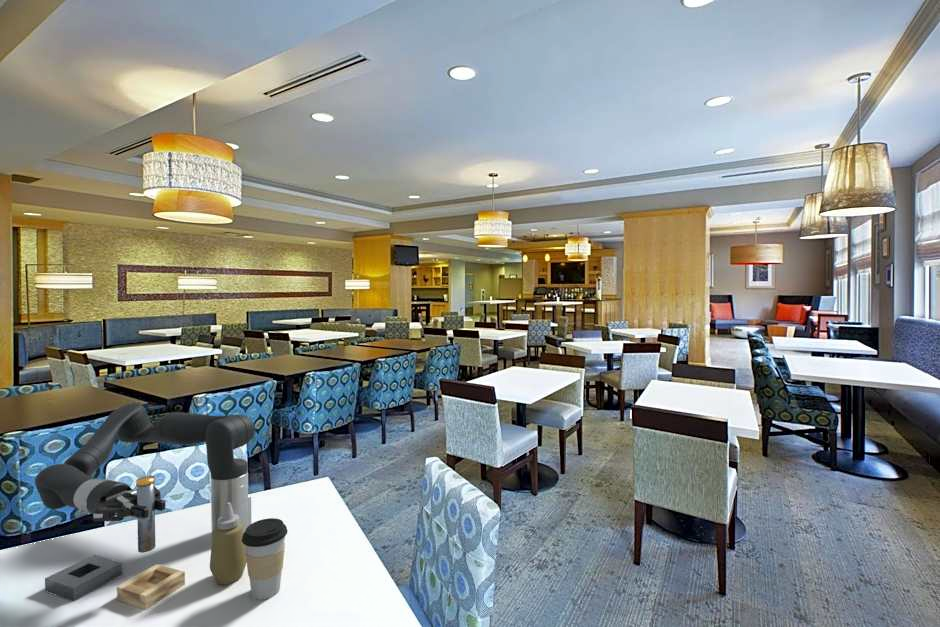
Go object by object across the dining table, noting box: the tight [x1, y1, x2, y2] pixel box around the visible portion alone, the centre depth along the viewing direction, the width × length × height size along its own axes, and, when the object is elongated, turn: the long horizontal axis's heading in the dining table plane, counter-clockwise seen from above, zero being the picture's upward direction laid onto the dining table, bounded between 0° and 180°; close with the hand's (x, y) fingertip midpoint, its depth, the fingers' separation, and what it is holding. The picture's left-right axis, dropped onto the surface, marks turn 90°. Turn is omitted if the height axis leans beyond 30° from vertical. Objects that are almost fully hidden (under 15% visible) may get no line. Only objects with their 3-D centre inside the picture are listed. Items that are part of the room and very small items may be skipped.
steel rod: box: [135, 475, 156, 554], centre depth 101 cm, size 3×3×16 cm
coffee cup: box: [242, 517, 288, 601], centre depth 102 cm, size 9×9×15 cm
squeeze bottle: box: [209, 502, 247, 585], centre depth 107 cm, size 8×8×18 cm
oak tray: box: [116, 563, 186, 610], centre depth 102 cm, size 9×9×3 cm
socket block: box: [44, 554, 123, 602], centre depth 105 cm, size 10×10×3 cm
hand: (155, 509), depth 100 cm, fingers closed on steel rod, 3 cm apart
